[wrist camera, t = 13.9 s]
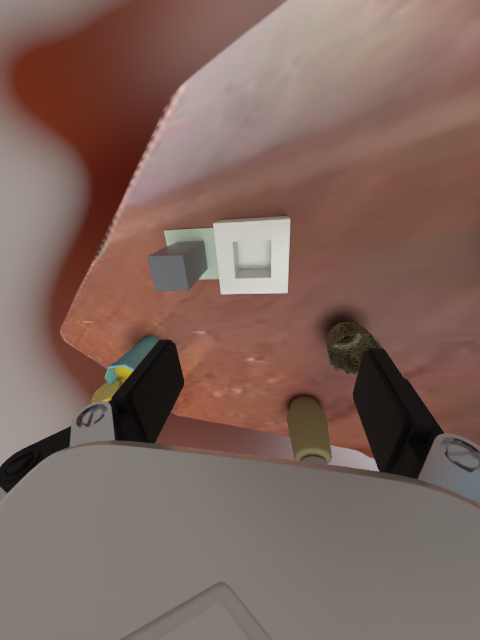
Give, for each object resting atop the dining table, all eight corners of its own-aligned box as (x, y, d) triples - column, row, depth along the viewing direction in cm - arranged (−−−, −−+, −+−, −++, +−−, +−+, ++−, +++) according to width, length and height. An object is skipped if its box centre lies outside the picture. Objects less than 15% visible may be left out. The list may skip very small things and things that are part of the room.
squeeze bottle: (311, 386, 48) (332, 480, 32) (329, 409, 50) (356, 506, 35) (278, 400, 51) (283, 491, 35) (297, 421, 53) (308, 514, 38)
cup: (167, 314, 43) (123, 365, 30) (193, 343, 46) (163, 401, 33) (122, 345, 48) (67, 400, 35) (148, 369, 51) (106, 429, 38)
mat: (214, 227, 35) (213, 227, 34) (220, 277, 38) (219, 278, 38) (165, 230, 36) (163, 230, 35) (175, 278, 39) (174, 280, 39)
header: (287, 215, 33) (290, 218, 28) (285, 281, 37) (287, 293, 33) (220, 220, 34) (213, 223, 30) (226, 283, 39) (220, 294, 34)
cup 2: (311, 336, 42) (319, 364, 35) (333, 303, 38) (348, 327, 31) (346, 351, 42) (361, 381, 35) (372, 320, 39) (394, 347, 32)
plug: (204, 240, 35) (182, 255, 26) (207, 268, 37) (188, 290, 28) (177, 241, 36) (147, 256, 27) (182, 269, 38) (155, 290, 29)
